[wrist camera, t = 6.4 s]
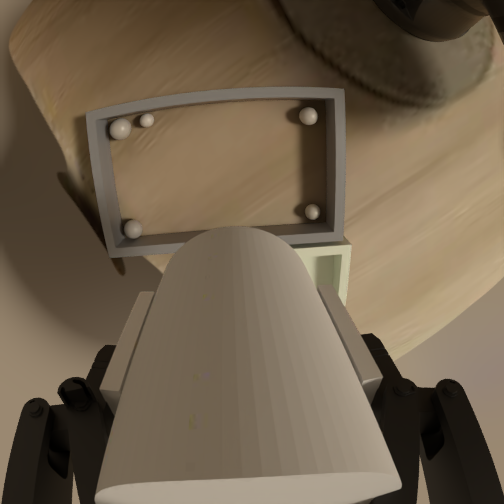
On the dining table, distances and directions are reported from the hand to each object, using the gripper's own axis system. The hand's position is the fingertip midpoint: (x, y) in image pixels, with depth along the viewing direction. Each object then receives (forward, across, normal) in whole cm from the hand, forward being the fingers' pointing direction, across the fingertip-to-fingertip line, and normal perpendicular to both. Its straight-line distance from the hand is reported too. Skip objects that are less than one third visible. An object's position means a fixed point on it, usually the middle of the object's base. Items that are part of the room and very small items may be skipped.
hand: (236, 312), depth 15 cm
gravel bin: (+18, -1, +5) cm, 18 cm away
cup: (+2, 0, 0) cm, 2 cm away
